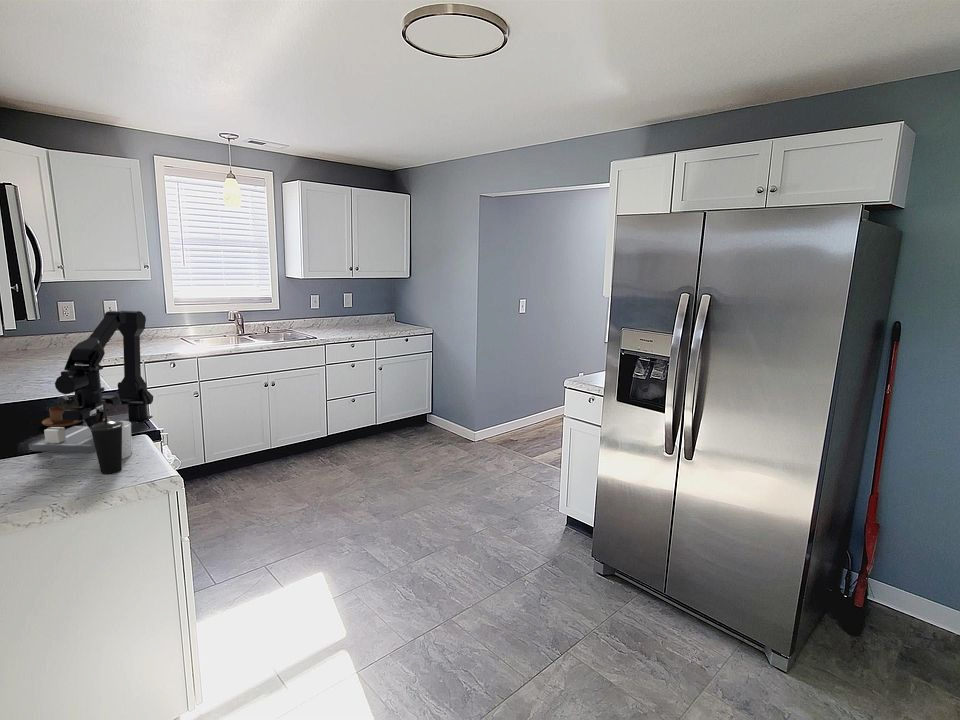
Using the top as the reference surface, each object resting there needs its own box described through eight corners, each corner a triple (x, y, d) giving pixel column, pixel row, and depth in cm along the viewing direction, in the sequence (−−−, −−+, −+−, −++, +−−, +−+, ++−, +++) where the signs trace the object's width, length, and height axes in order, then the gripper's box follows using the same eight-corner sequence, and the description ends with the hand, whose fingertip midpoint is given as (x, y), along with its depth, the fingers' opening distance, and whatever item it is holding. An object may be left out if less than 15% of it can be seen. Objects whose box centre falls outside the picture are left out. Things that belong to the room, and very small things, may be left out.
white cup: (139, 451, 166) (136, 420, 164) (123, 461, 159) (120, 429, 157) (113, 451, 166) (110, 420, 164) (96, 460, 158) (92, 428, 156)
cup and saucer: (70, 417, 196) (68, 400, 194) (93, 421, 192) (91, 405, 191) (34, 426, 185) (31, 409, 183) (58, 431, 181) (55, 414, 179)
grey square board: (74, 431, 181) (74, 425, 181) (129, 433, 182) (128, 427, 181) (32, 451, 164) (31, 444, 163) (92, 452, 164) (91, 446, 164)
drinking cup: (91, 478, 147) (83, 408, 143) (98, 467, 154) (90, 400, 150) (124, 474, 150) (117, 405, 146) (129, 464, 157) (123, 398, 153)
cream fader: (52, 439, 168) (51, 426, 167) (66, 439, 168) (64, 426, 167) (45, 442, 165) (43, 429, 164) (59, 443, 165) (57, 429, 164)
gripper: (84, 378, 178) (89, 423, 181) (40, 392, 160) (46, 442, 163) (118, 379, 178) (122, 424, 181) (78, 394, 160) (84, 443, 163)
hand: (94, 433), depth 172 cm, fingers closed
